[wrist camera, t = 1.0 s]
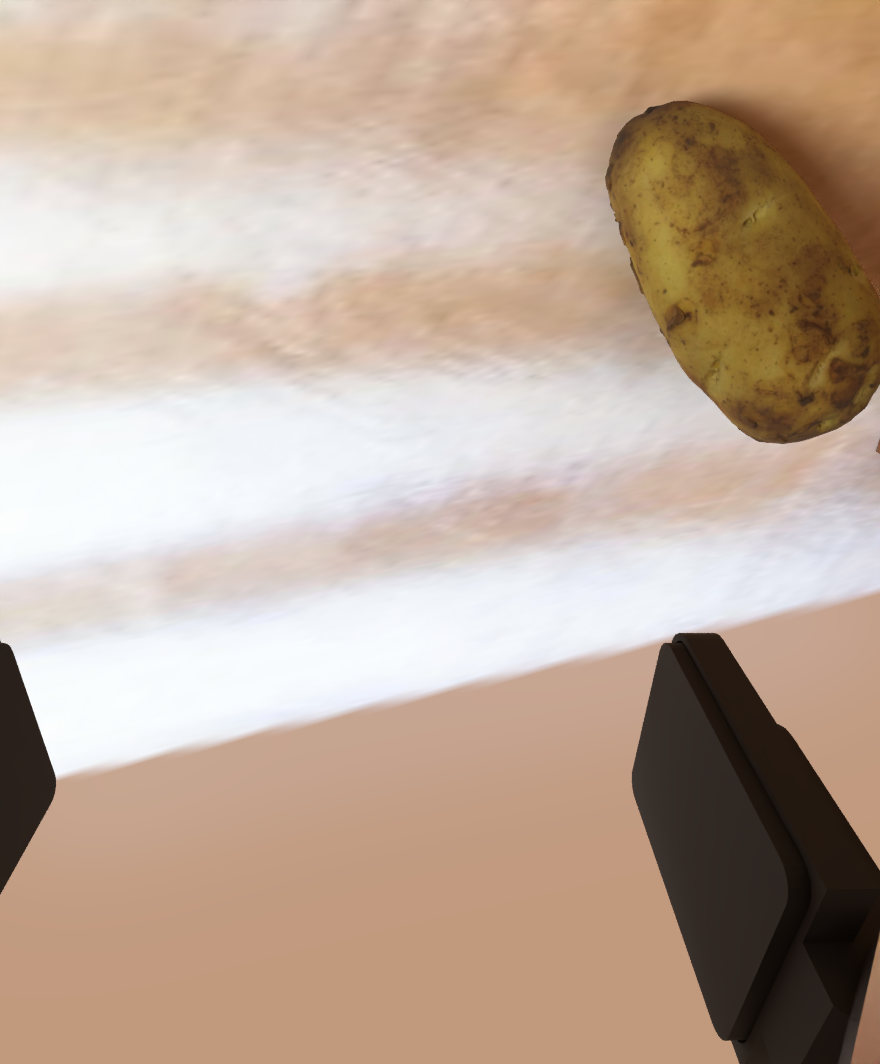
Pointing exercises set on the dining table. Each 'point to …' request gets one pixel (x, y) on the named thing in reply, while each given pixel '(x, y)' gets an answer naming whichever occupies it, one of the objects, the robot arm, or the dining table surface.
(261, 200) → the dining table surface
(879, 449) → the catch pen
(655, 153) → the potato
